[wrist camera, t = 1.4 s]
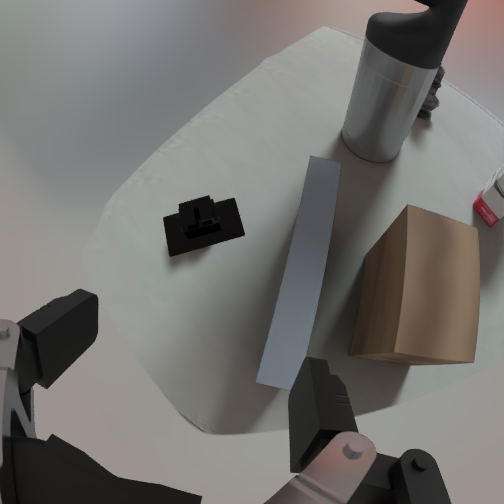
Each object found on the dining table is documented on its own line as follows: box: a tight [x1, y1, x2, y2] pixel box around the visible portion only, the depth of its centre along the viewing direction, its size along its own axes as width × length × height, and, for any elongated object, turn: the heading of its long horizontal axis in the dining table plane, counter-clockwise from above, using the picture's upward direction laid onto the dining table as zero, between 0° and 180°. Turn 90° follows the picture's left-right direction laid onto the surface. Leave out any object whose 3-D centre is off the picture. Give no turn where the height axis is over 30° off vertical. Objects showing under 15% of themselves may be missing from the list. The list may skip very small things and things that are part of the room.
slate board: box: [255, 156, 341, 390], centre depth 27 cm, size 3×20×10 cm, turn 165°
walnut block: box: [349, 204, 480, 365], centre depth 24 cm, size 8×12×12 cm, turn 165°
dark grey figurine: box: [417, 64, 445, 119], centre depth 36 cm, size 6×6×12 cm
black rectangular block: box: [163, 195, 245, 257], centre depth 33 cm, size 12×7×5 cm, turn 105°
